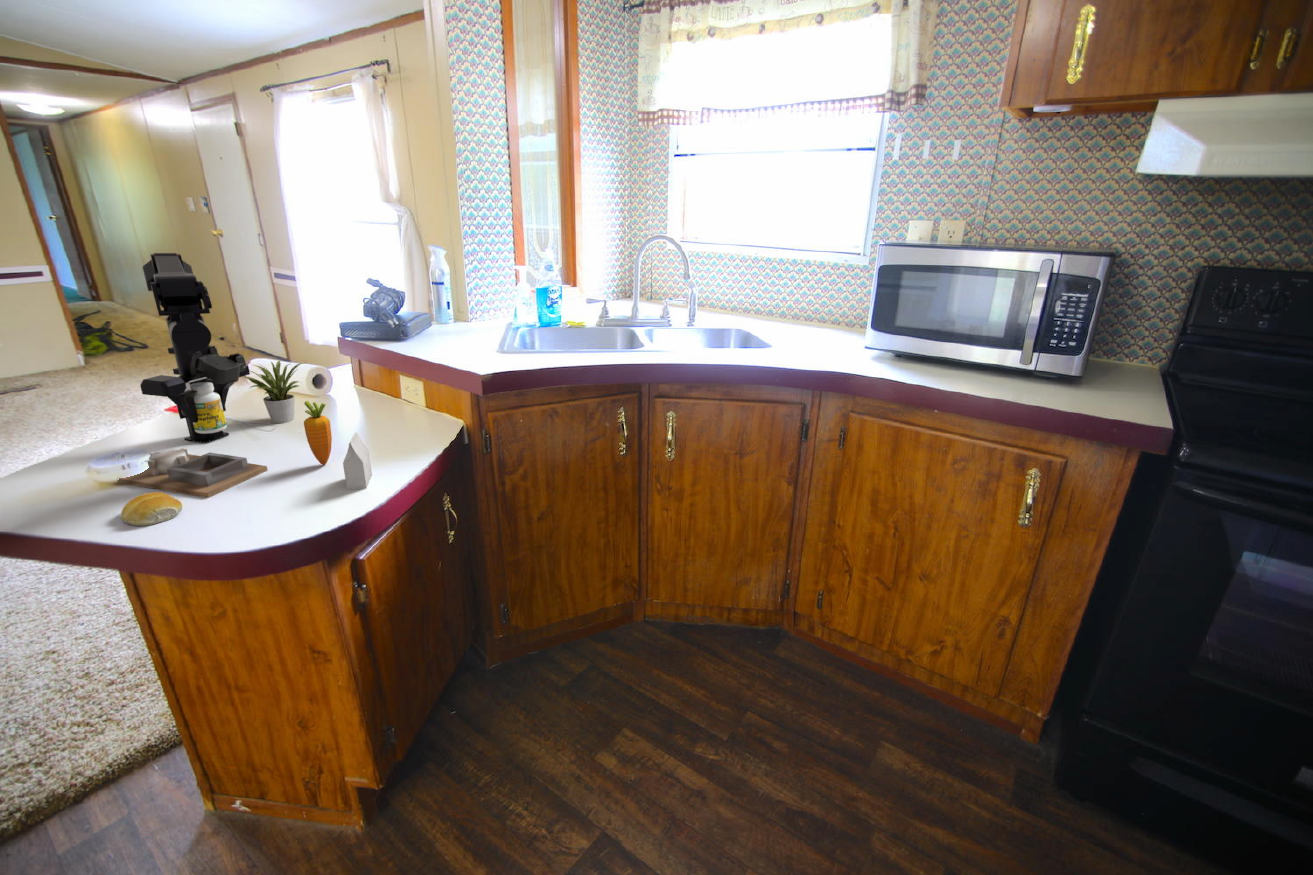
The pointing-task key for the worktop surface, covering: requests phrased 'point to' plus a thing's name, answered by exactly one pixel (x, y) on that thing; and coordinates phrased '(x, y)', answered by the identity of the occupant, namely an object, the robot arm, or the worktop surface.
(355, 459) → the gray house shaped block
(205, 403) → the supplement bottle
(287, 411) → the house plant
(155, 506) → the bread roll
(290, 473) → the worktop surface
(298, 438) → the worktop surface
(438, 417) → the worktop surface
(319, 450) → the carrot
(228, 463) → the carrier plate
